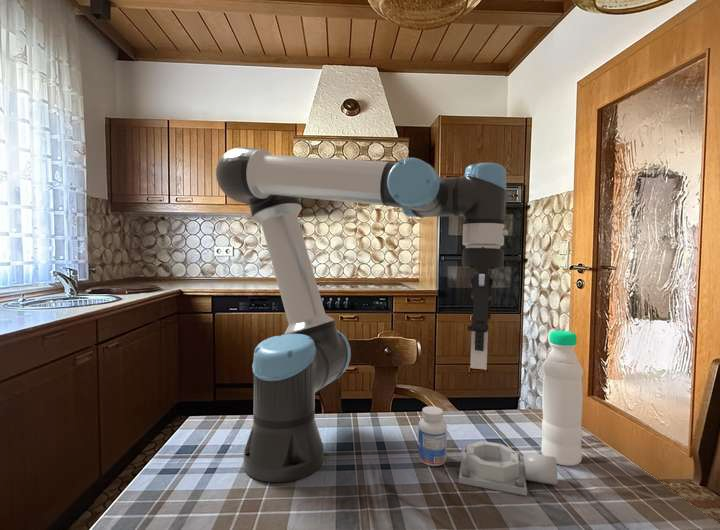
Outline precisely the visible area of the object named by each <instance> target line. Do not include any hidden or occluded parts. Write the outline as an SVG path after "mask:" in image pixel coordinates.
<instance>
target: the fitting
mask: <svg viewBox="0 0 720 530" xmlns="http://www.w3.org/2000/svg"><path fill="white" fill-rule="evenodd" d="M460 459H461V460H460V465H459V467H460V468H459V474H458V484H462V485H467V486H474V487H477V488H483V489H488V490H494V491H500V492H504V493H509V494H516V495H520V496H526V497H527V496H528V487H527V481H529V482H535V483H536V482H537V483H542V484H547V485H551V486H552V485H554V486H557V485H558V464H557V463H556V458H555V457H551V456H545V455H543V454H538V453H533V452H532V453H530V452H523V457H521V454H519V453H518V452H517V451H515V450H514V449H512V448H510V447H508V446H507V445H505V444H502V443H498V442H490V441H484V440H480V441H476V442H473V443H469V444H467V445H465V446H464V447H463V448H462V452H461V457H460Z"/></svg>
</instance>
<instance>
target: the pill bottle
mask: <svg viewBox="0 0 720 530" xmlns="http://www.w3.org/2000/svg"><path fill="white" fill-rule="evenodd" d="M421 409H422V411H421V417H422V418H421V419H420V420H419V422H418V458H419V461H420V462H422V463H423V464H425V465H427V466H432V467H437V466H441V465H442V466H443V465H444V464H446V462H447V459H448V458H447V457H448V455H447V453H448V452H447V448H448V446H447V442H448V441H447V440H448V439H447V438H448V437H447V435H448V434H447V433H448V432H447V431H448V430H447V428H448V427H447V423H446V421H445V420H444V410H443V409H442V408H440V407H438V406H425V407H423V408H421Z"/></svg>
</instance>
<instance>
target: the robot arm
mask: <svg viewBox="0 0 720 530" xmlns="http://www.w3.org/2000/svg"><path fill="white" fill-rule="evenodd" d="M215 175H216V176H215V177H216V181H217V184H218V186H219V188H220V190H221V191H222V192H223V193H224V195H225V196H227V197H228V198H229V199H231V200H233V201H235V202H238V203H241V204H246V205H248V206H249V209H250V213H251V217H252V220H253V222H255V223H257V224H258V225H261V228H262V231H263V235H264V239H265V242H266V243H265V244H266V246H267V250H268V253H269V257H270V261H271V265H272V269H273V271H274V276H275V279H276V283H277V288H278V290H279V293H280V297H281V301H282V305H283V309H284V312H285V317H286V320H287V323H288V326H287V328H286V330H285V331H284V334H281V335H275V336H271V337H267V338H266V339H264V340H262V341H261V342H260V343H258V344H257V346H255V348H254V352H253V360H252V361H253V362H252V365H251V366H252V367H251V368H252V369H251V370H252V376H253V377H252V387H253V388H252V390H253V391H252V392H253V393H252V395H253V399H252V401H253V404H252V405H253V407H252V408H253V409H252V411H253V413H252V414H253V418H252V419H253V420H252V421H253V422H252V426H251V429H250V432H249V435H248V439H247V442H246V444H245V447H244V451H243V469H244V471H245V473H246V474H247V475H249V476H250V477H251V478H253V479H255V480H257V481H262V482H266V483H267V482H268V483H286V482H287V483H288V482H292V481H293V482H294V481H296V480H299V479H303V478H306V477H307V476H310V475H312V474H313V473H315V472H316V471H317V470H318V469H319V468H320V467H321V466H322V464H323V462H324V459H325V458H324V457H325V456H324V450H325V449H324V443H323V441H322V437H321V435H320V431H319V428H318V425H317V422H316V416H315V414H316V413H315V412H316V411H315V409H316V408H315V407H316V403H315V399H316V396H315V395H316V393H317V392H318V391H320V390H322V389H323V388H324V387H326V386H327V385H328V384H331V383H334V382H335V381H336V380H338V379H339V378H340V377H341V376H342V375H343V374H344V372H346V370H347V369H348V366H349V365H350V361H351V356H352V354H351V353H352V352H351V351H352V350H351V346H350V342H349V341H348V340H349V339H348V338H347V337H346V335H345V334H343V333H342V332H340V331H339V330H338V329H337V325H336V322H335V319H334V318H333V317H331V316H329V315H327V313H326V311H325V308H324V305H323V301H322V297H321V294H320V291H319V287H318V284H317V281H316V276H315V272H314V269H313V267H312V263H311V259H310V256H309V252H308V249H307V245H306V241H305V238H304V234H303V230H302V227H301V224H300V221H299V218H298V217H299V215H300V213H301V211H302V208H303V207H302V204H301V201H302V198H303V199H313V200H314V199H315V200H324V201H325V200H327V201H333V202H334V201H335V202H345V203H346V202H347V203H355V204H366V205H375V206H377V205H378V206H383V207H386V206H387V207H390V208H392V207H393V208H399V209H400V208H401V210H402V213H403V214H404V215H405V216H406V217H408V218H409V217H414V218H419V219H422V218H427V217H428V218H430V217H434V218H435V217H439V218H440V217H463V225H462V243H461V244H462V246H465V248H463V250H462V251H461V252H462V255H461V256H462V257H461V266H462V268H467V269H475V273H474V275H473V276H472V277H470V288H471V296H470V297H471V299H472V301H473V305H472V307H473V308H472V323H471V324H469V325H467V331H469V332H471V334H470V335H471V336H470V337H471V338H470V341H471V342H470V365H469V368H470V369H477V370H485V371H486V370H487V367H488V365H487V364H488V342H489V341H488V339H489V337H488V336H489V324H488V323H489V322H488V321H489V320H491V316H492V314H490V313H489V301H491V299H492V290H493V288H494V287H493V286H494V279H493V277H491V276H490V273H489V269H490V270H493V269H494V270H499V269H503V267H504V265H505V264H504V259H505V251H504V250H503V248H501V247H502V246H504V245H505V236H508V235H509V230H508V229H504V228H505V223H506V208H507V207H506V206H507V170H506V168H505V167H504V166H503V165H502V164H500V163H497V162H479V163H473V164H470V165H468V166H467V167H465V172H464V174H463V176H459V177H441V176H440V175H439V174H438V173H437V170H435V168H434V167H433V166H432V165H431V164H430V163H427V162H426V161H424V160H422V159H421V158H416V157H407V158H404V159H400V161H399V160H398V161H394V162H393V161H392V162H391V161H381V160H365V159H363V160H361V159H345V158H344V159H343V158H331V157H330V158H327V157H314V156H313V157H312V156H310V157H309V156H297V155H296V156H294V155H279V154H278V155H277V154H272V153H271V152H270V150H267V149H265V148H255V147H241V146H240V147H239V146H238V147H235V148H231V149H230V150H229V149H228V151H226V152H225V153H224V154H223V155H222V156H221V157H220V159H219V161H218V163H217V165H216V169H215Z"/></svg>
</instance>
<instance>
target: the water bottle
mask: <svg viewBox="0 0 720 530" xmlns="http://www.w3.org/2000/svg"><path fill="white" fill-rule="evenodd" d="M577 342H578V339H577V334H576V333H575V332H573V331H568V330H552V331H550V332H549V344H550V345H551V350H550V351H549V353H548V354H547V357H546V358H545V360H544V362H543V364H542V372H543V377H542V378H543V379H542V389H541V390H542V393H541V394H542V399H541V400H542V401H541V404H542V405H541V407H542V409H541V410H542V421H541V433H542V438H541V449H540V450H541V455H545V456H551V457H555V458H556V463H557V465H560V466H566V467H572V466H573V467H574V466H577V465H579V464H580V463H581V462H582V459H583V452H582V450H583V448H582V438H583V429H582V418H583V401H584V399H583V396H584V394H583V381H582V379H583V376H584V369H583V366H582V365H581V362H580V361H579V359H578V355H577V354H576V353H575V348H576V347H577V346H576V345H577V344H578V343H577Z"/></svg>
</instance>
